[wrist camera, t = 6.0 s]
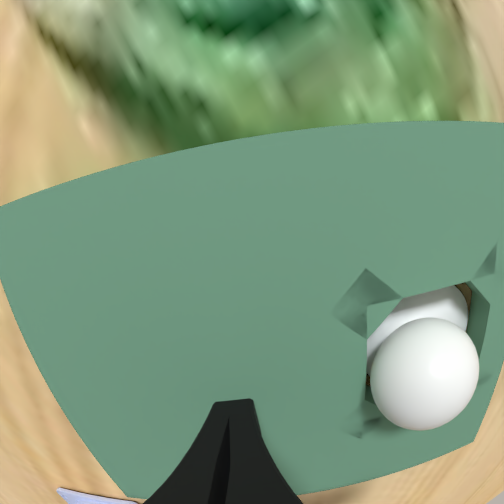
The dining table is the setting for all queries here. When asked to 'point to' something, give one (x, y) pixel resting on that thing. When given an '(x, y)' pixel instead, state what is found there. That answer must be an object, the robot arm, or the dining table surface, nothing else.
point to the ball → (424, 373)
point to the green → (261, 292)
